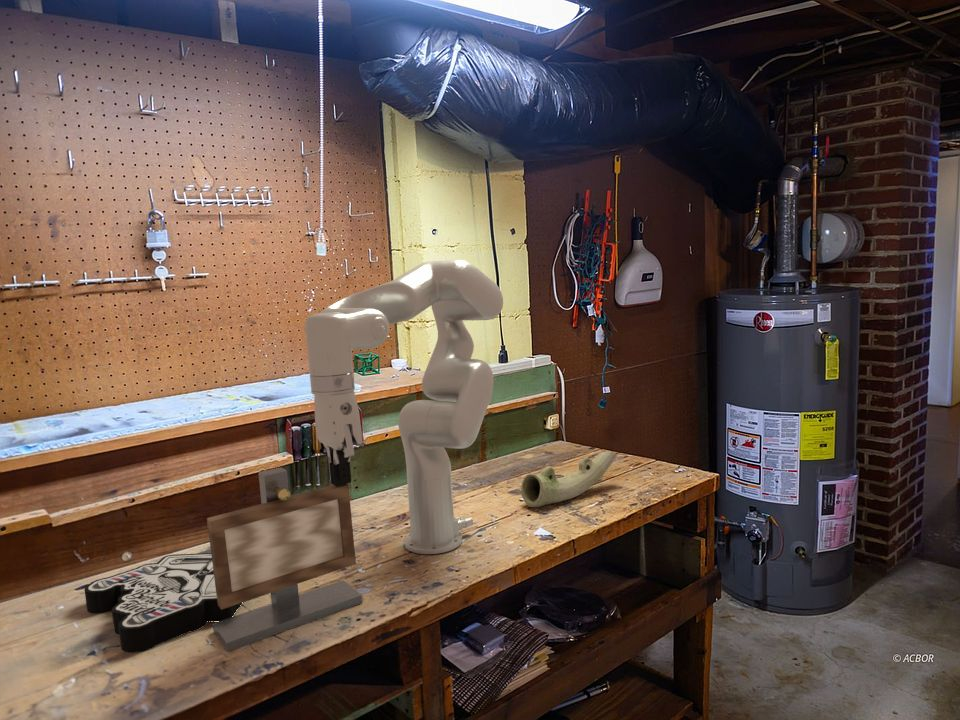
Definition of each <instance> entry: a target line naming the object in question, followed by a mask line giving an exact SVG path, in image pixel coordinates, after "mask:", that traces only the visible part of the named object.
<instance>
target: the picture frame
mask: <svg viewBox="0 0 960 720" xmlns="http://www.w3.org/2000/svg"><path fill="white" fill-rule="evenodd" d="M349 486H350V485H349V484H344V485H340V486H335V485H333V484H332V485H330V486H325V487H322V488H318V489H314V490H310V491H307V492H302V493H298V494H294V495H290V498H289V499H288V500H286V501H281V500H280V499H279V500H275V501H271V502H267V503H263V504H261V503H260V504H256V505H252V506H248V507H246V508H241V509H236V510H233V511H230V512H225V513H221V514H217V515H214V516H210V517H207V518H206V524H207V531H208V539H209V546H210V553H211V555H212V563H213V571H214V579H215V587H216V595H217V603H218V606H219V607H220V609H221V610H222V609H225V608H228V607H231V606H233V605H236V604H239V603H242V602H243V603H245V602H248V601H251V600H253V599H254V600H255V599H257V598H259V597H262V596H266V595H268V594H270V593H272V592H275V591H278V590H281V589H284V588H287V587H290V586H293V585H296V584H302V583H304V582H306V581H310V580H314V579H316V578H319V577H323V576H325V575H327V574H331V573H334V572H337V571H340V570H343V569H345V568H349V567H352V566H355V565H356V564H357V562H356V560H357V559H356V552H355V551H356V549H355V540H354V530H353V529H354V528H353V518H352V509H351V499H350V487H349Z"/></svg>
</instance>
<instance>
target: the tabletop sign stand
mask: <svg viewBox="0 0 960 720" xmlns="http://www.w3.org/2000/svg"><path fill="white" fill-rule="evenodd" d="M258 481H259V490H260V491H259V492H260V504H263V503H267V502H271V501H275V500H279V499H280V500H281V501H286V500H288V499H289V498H290V496H291V492H290V489H289V487H290V486H289V477H288V470H286V469H285V468H283V467H277V468H271V469H267V470H263V471H258ZM269 594H270V600H271V601H270V602H271V603H270V604H267V605H265V606H261V607H258V608H254V609H252V610H248V611H247V612H243V613H240V614H238V615H234V616H233V617H231V618H228V619H225V620H222V621H219V622H212V628H213V629H212V630H213V633H214V634H215V636H216V637H217V639H218V640H219V641H220V643H221V644H223V645H222V646H223V648H224V649H225V650H226V652H230V650H231V651H234V650H236V649H239V648H241V647H245V646H248V645H249V644H252V643H255V642H258V641H260V640H264V639H266V638H269V637H272V636H274V635H275V636H276V635H278V634H280V633H283V632H286V631H288V629H289V630H292V629H294V628H297V627H300V626H302V625H305V624H308V623H310V622H313V621H316V620H319V619H321V618H322V619H323V618H325V617H328V616H330V615H333V614H336V613H338V612H341V611H344V610H347V609H349V608H352V607H355V606H358V605H361V604H363V595H362V594H361V593H360V592H359V591H358V590H356V589H355V587H352V586H351V585H350V584H349V583H348V582H346V581H345V580H344V579H342V580H339V581H337V582H336V581H335V582H333V583H330V584H327V585H324V586H322V587H319V588H315V589H312V590H309V591H306V592H303V593H300V594H299V585H298V584H296V585H293V586H290V587H287V588H284V589H281V590H278V591H275V592H272V593H269Z"/></svg>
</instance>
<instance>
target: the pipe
mask: <svg viewBox="0 0 960 720" xmlns="http://www.w3.org/2000/svg"><path fill="white" fill-rule="evenodd" d="M617 456H618V454H617V453H616V452H614V451H610V450H606V451H602V452H599V453H598V454H597V455H596V456H594V458H593V459H592V460H591V458H589V457H585V458H582V460H580V461H579V464H578V470H577V471H574V472H572V473H570V474H567V475H566V476H562V477H557V476H556V472H555V469H554V468H553V467H552V466H551V465H548V466H546V467H544V468H542V470H541V471H540V472H538V473H534V474H533V473H532V474H527V475H525V476H524V478H523V480H522V482H521V487H520V488H521V489H520V491H521V492H520V493H521V497H522V499H523V502H524V503H525V504H526V506H528V507H531V508H537V507H538V508H540V507H543V506H546V505H549V504H555V503H560V502H563V501H568V500H571V499H574V498H575V497H578V496H579V495H581V494H583V493H585V492H586V491H588V490H589V489H591V487H593V486H594V485H595V484H596V483H597V482H598V481H599V480H600V479H601V478H602V477H603V476H604V475H605V473H606V472H607V470H608V469H609V468H610V467H611V465H612V464H613V463H614V461H615V460H616V458H617Z"/></svg>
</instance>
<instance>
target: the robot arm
mask: <svg viewBox="0 0 960 720" xmlns="http://www.w3.org/2000/svg"><path fill="white" fill-rule="evenodd" d="M503 306H504V298H503V293H502V291H501V288H500V287H499V286H498V284H497V283H496V282H495V281H494V280H492V279H491V278H490V277H489V276H488V275H486V274H485V273H484V272H483V271H482V270H480V269H479V268H478V267H476V266H475V265H474V264H472V263H470V262H468V261H466V260H464V259H451V260H450V259H449V260H448V259H447V260H432V261H431V260H430V261H426V262H423V263H420V264H419V265H417V266H414V267H413V268H412V269H410V270H408V271H407V272H405V273H403V274H402V275H400V276H398V277H396V278H394V279H392V280H391V281H389V282H385V283H382V284H379V285H376V286H373V287H371V288H368V289H365V290H362V291H359V292H357V293H353V294H350V295H348V296H346V297H344V298H341V299H339V300H338V301H336V302H334V303H332V304H330V305H329V306H327V307H325V308H323V310H322V311H320V313H319V312H318V313H314V314H310V315H309V316H307V317H306V319H305V321H304V326H305V336H306V337H305V339H306V346H307V347H306V350H307V358H308V371H309V380H310V391H311V392H310V393H311V394H312V395H314V397H313V399H314V401H313V402H314V403H313V405H314V406H313V407H314V422H315V423H314V425H315V432H316V438H317V440H318V442H319V443H321V444H323V447H324V448H325V449H326V451H327V452H326V454H327V460H328V462H329V464H328V465H329V472H330V473H329V474H330V475H329V476H330V483H331V485H332V486H333V485H335V486H340V485H344V484H347V485H349V484H350V483H351V482H352V474H351V464H350V463H351V458H352V457H354V456H355V447H354V446H356V447H360V446H361V445H362V444H363V433H362V424H361V418H360V417H361V416H360V411H359V406H358V402H357V396H356V393H355V391H356V390H355V389H356V388H355V375H354V373H355V372H354V363H353V352H352V351H355V350H372V349H376V348H378V347H380V346H381V345H383V344H384V343H385V342H386V340H387V339H388V337H389V335H390V331H391V330H390V329H391V328H390V327H391V326H390V325H395V324H398V323H403V322H406V321H410V320H411V319H414V318H415V317H417V316H418V315H420V314H421V313H422V312H423V311H425V310H427V309H428V308H430V307H431V310H432V314H433V317H434V320H435V325H436V329H437V330H436V331H437V340H436V344H435V346H434V349H433V351H432V354H431V357H430V359H429V360H428V364H427V365H426V369H425V371H424V373H423V377H422V379H421V380H422V381H421V391H422V393H423V394H424V395H425V397H427V398H429V399H431V400H429V399H418V400H413V401H410V402H408V403H406V404H405V405H404V406H403V407H402V408H401V410H400V413H399V415H398V418H397V419H398V423H397V424H398V431H399V434H400V438H401V442H402V446H403V450H404V451H403V452H404V457H405V465H406V466H405V467H406V468H405V469H406V479H407V480H406V482H407V497H408V511H409V513H408V514H409V524H410V525H409V526H410V527H409V528H410V533H409V534H407V535H406V536H405V537H404V541H403V542H404V544H403V545H404V547H405V549H406V550H408V551H410V552H411V553H414V554H418V555H419V554H420V555H436V554H437V555H438V554H443V553H447V552H450V551H452V550H455V549H457V548H458V547H459V546H460V545H461V544H462V543H463V534H462V532H460V531H462V529H463V528H467V527H470V526H473V524H474V519H473V518H472V517H471V516H467V517H465V518H464V517H463V519H462V517H461V516H456V517H455V513H454V501H453V500H454V499H453V483H452V481H453V480H452V465H451V464H452V463H451V460H450V458H449V455H448V453H447V451H446V449H447V448H448V449H457V450H458V449H459V450H460V449H467V448H469V447H470V446H471V445H473V444H474V442H475V441H476V440H477V437H478V435H479V433H480V429H481V428H482V427H481V426H482V425H483V420H484V418H485V416H486V412H487V410H488V407H489V404H490V401H491V397H492V395H493V390H494V384H495V383H494V374H493V370H492V368H491V366H490V365H489V363H487V362H486V361H483V360H482V359H475V358H472V357H473V353H474V348H475V344H474V341H473V338H472V336H471V335H472V334H470V332H469V330H468V329H467V327H466V325H465V323H464V321H490V320H494V319H496V318H497V317H498V316H499V315H500V313H502V310H503ZM445 448H446V449H445Z"/></svg>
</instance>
